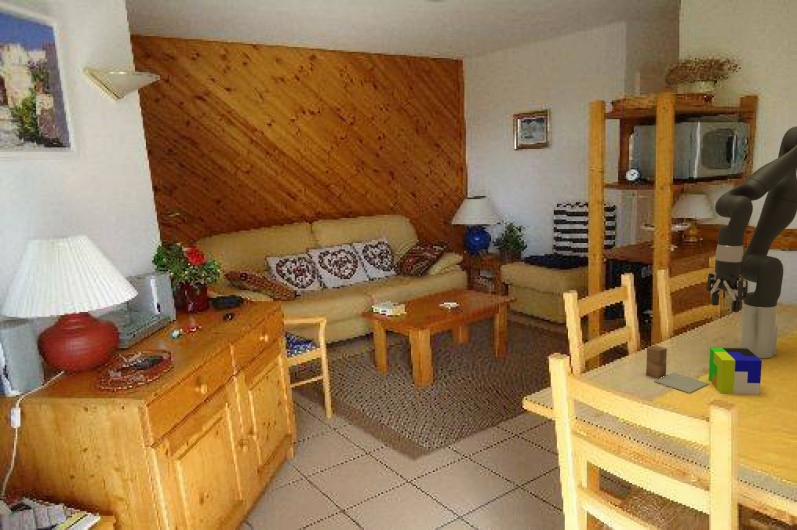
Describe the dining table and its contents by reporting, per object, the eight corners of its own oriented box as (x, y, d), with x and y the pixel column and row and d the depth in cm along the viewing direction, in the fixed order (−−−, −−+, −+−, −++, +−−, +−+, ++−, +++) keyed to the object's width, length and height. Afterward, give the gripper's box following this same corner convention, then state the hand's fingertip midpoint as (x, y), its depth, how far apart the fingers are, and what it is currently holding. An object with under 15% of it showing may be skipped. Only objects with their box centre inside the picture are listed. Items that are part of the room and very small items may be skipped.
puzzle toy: (759, 394, 156) (761, 360, 154) (720, 393, 158) (722, 360, 156) (745, 380, 166) (747, 348, 164) (708, 379, 168) (710, 347, 166)
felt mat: (673, 373, 173) (673, 372, 173) (708, 384, 164) (708, 383, 164) (653, 382, 168) (653, 380, 168) (689, 393, 159) (689, 392, 159)
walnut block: (653, 371, 175) (654, 344, 174) (665, 375, 172) (666, 348, 170) (645, 375, 173) (646, 347, 172) (658, 379, 170) (659, 351, 168)
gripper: (757, 261, 170) (752, 313, 173) (722, 254, 184) (718, 302, 187) (736, 263, 168) (731, 315, 171) (702, 255, 182) (698, 303, 185)
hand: (724, 308), depth 179 cm, fingers open, 8 cm apart
